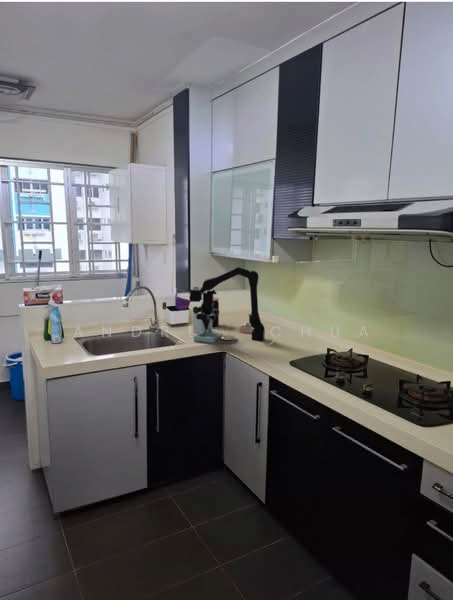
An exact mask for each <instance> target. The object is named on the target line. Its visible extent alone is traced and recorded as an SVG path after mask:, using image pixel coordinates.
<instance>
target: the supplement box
mask: <svg viewBox="0 0 453 600" xmlns="http://www.w3.org/2000/svg"><path fill="white" fill-rule="evenodd" d="M199 313H201V312H199ZM199 313H197V314H199ZM197 314H195V313H194V312H193V311H192V332H193V333H196V334H199V333H201V332H204V324H203V321H202V320H199V319H196V315H197Z"/></svg>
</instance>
